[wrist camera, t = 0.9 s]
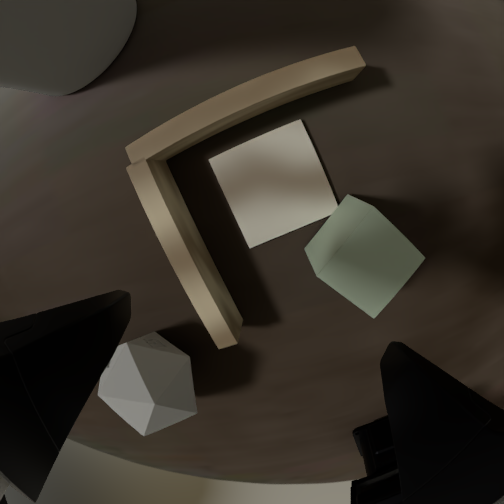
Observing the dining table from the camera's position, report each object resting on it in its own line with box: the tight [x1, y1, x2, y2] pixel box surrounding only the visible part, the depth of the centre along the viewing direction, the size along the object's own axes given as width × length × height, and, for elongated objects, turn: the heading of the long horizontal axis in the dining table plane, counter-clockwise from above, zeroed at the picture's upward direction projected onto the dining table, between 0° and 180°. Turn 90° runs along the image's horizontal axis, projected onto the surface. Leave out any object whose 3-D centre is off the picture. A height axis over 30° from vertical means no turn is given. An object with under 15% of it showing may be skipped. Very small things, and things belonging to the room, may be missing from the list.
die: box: [98, 332, 197, 436], centre depth 21 cm, size 8×9×10 cm
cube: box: [304, 194, 425, 318], centre depth 18 cm, size 5×5×5 cm
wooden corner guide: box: [125, 46, 366, 349], centre depth 18 cm, size 15×16×4 cm
